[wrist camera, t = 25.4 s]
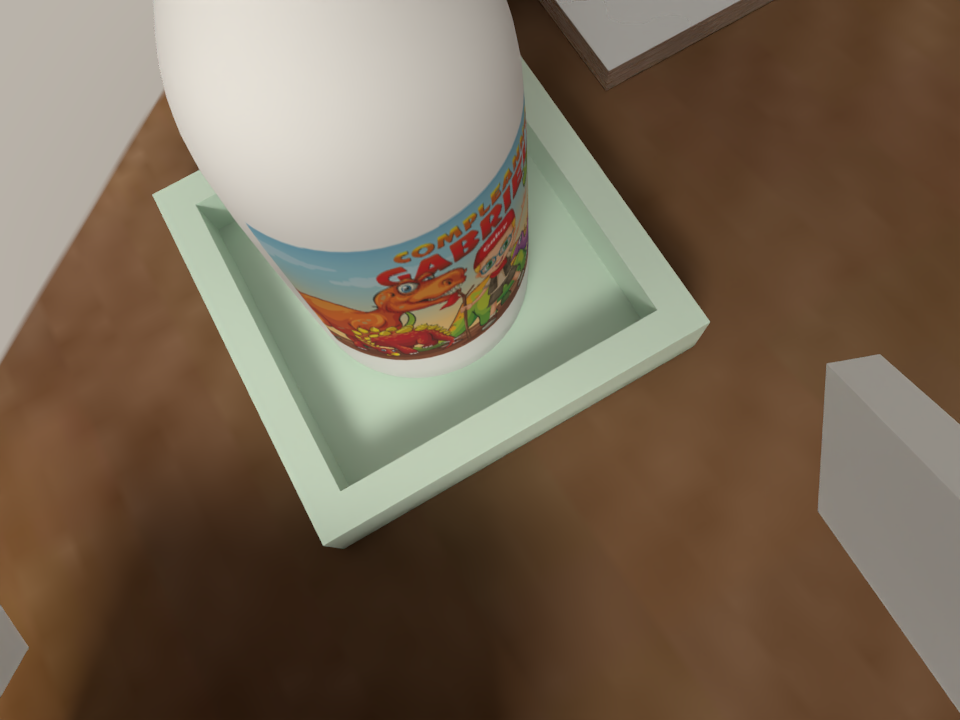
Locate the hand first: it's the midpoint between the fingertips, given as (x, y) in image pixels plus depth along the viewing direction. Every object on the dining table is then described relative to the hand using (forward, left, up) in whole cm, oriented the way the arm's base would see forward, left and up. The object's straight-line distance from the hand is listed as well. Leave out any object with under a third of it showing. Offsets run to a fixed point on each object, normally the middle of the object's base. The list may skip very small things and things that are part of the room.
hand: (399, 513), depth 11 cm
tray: (-3, -9, -14) cm, 17 cm away
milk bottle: (-3, -9, -14) cm, 17 cm away
